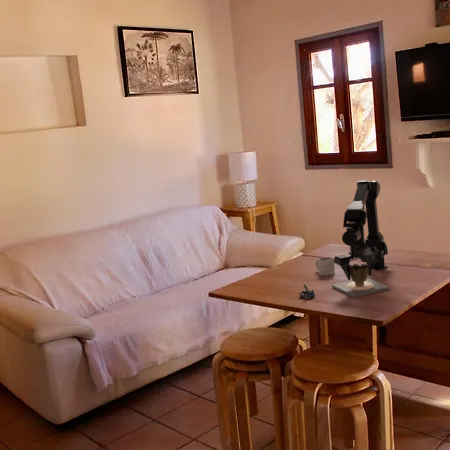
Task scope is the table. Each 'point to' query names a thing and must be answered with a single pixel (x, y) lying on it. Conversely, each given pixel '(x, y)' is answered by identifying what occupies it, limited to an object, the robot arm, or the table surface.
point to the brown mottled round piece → (359, 274)
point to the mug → (325, 266)
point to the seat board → (360, 288)
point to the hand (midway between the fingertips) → (359, 277)
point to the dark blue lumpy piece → (306, 294)
